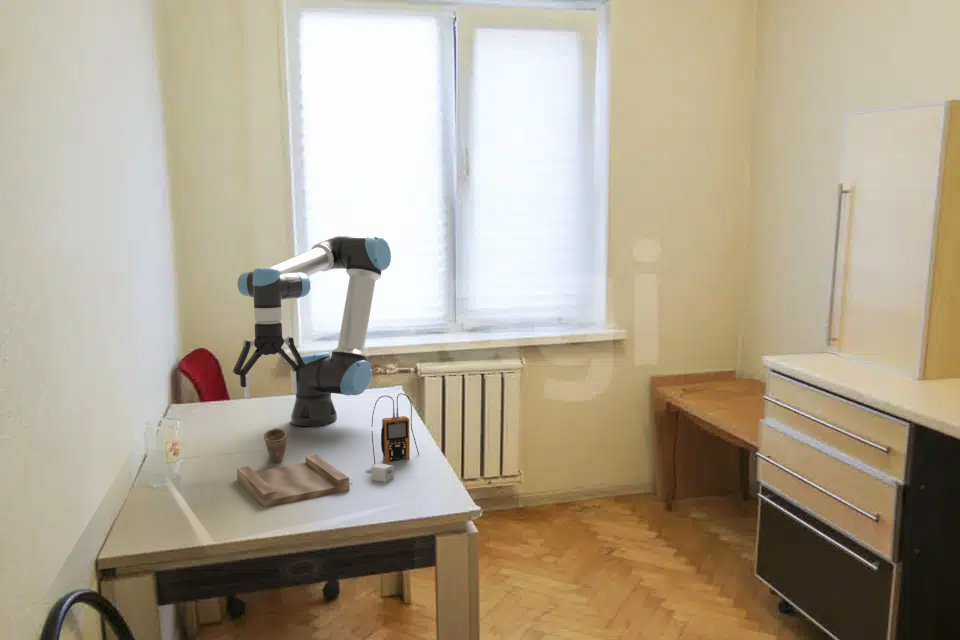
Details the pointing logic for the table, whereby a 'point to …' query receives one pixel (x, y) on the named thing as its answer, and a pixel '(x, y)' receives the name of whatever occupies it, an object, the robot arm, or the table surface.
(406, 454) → the multimeter
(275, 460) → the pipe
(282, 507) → the table surface
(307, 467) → the block
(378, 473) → the usb wall charger
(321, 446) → the table surface
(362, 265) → the robot arm
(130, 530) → the table surface
